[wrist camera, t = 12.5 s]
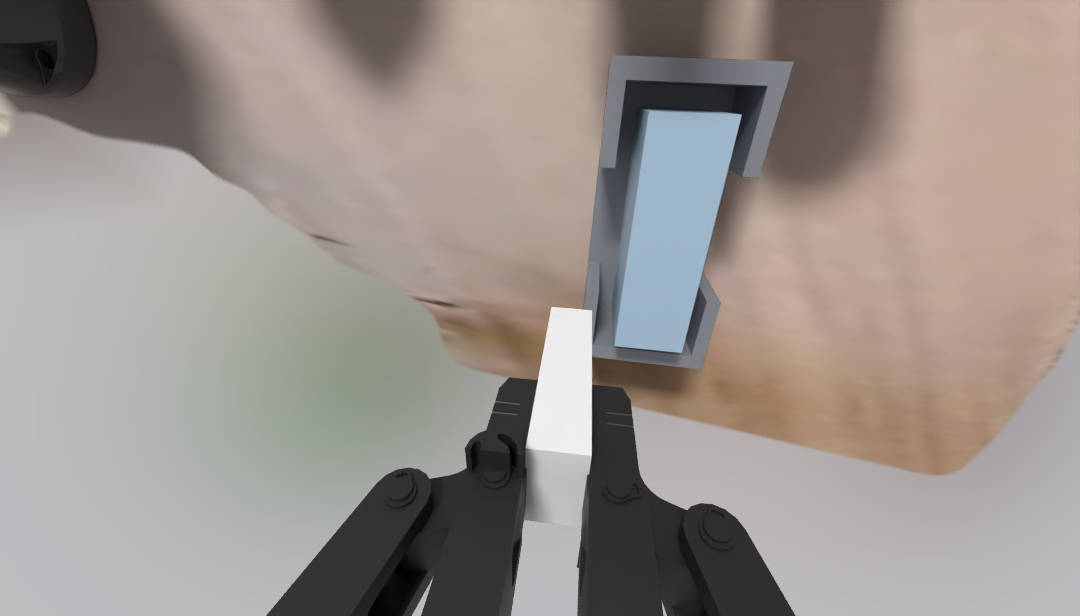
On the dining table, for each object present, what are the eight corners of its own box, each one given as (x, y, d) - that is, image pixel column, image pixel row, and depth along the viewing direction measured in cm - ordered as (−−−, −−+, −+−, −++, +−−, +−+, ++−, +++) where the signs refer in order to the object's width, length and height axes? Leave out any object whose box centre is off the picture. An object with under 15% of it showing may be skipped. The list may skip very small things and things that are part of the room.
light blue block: (612, 298, 37) (614, 346, 30) (637, 107, 29) (649, 111, 22) (666, 303, 36) (681, 353, 29) (707, 109, 28) (741, 114, 21)
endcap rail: (582, 314, 39) (578, 355, 33) (609, 63, 29) (611, 55, 23) (685, 325, 38) (700, 369, 32) (751, 69, 28) (793, 61, 22)
